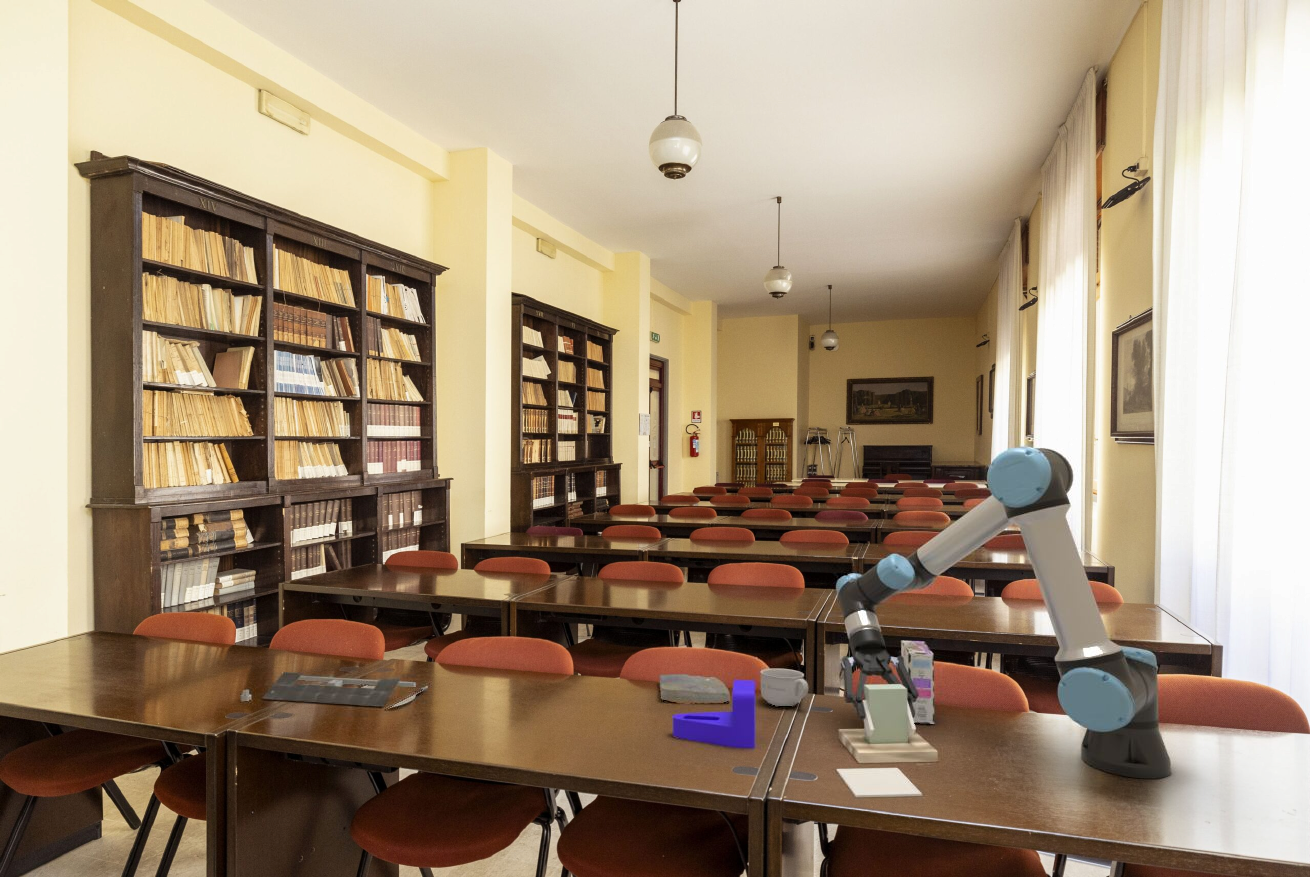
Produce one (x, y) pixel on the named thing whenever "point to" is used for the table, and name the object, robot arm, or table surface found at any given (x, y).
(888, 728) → the tall mint prism
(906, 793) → the white square tile
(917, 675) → the candy box
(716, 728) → the bracket
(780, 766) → the table surface
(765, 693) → the teacup
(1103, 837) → the table surface
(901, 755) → the wooden square base
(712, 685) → the fossil
